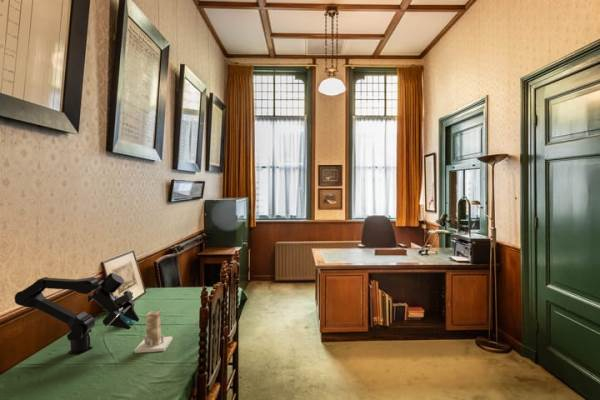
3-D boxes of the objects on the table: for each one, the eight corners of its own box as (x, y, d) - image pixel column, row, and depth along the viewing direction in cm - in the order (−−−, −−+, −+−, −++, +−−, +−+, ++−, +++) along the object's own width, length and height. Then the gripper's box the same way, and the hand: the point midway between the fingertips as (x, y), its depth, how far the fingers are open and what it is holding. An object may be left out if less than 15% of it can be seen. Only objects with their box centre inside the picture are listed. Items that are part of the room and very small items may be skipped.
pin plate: (134, 352, 141) (134, 342, 141) (145, 340, 153) (144, 331, 153) (164, 350, 142) (163, 340, 142) (172, 339, 154) (172, 329, 154)
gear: (141, 317, 179) (133, 308, 171) (139, 328, 174) (131, 320, 167) (119, 321, 178) (111, 313, 170) (117, 332, 174) (108, 324, 166)
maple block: (147, 345, 145) (146, 315, 145) (151, 341, 149) (149, 311, 149) (157, 344, 145) (156, 314, 145) (161, 340, 150) (160, 310, 149)
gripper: (109, 292, 137) (139, 318, 138) (129, 281, 155) (155, 303, 156) (89, 313, 136) (119, 339, 137) (111, 299, 155) (137, 322, 156)
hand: (134, 324), depth 146 cm, fingers open, 9 cm apart
